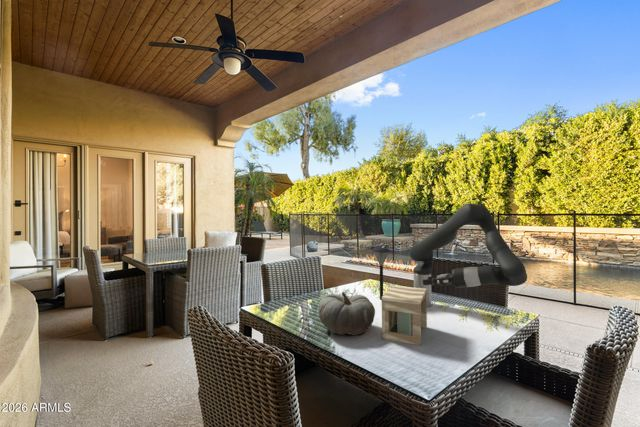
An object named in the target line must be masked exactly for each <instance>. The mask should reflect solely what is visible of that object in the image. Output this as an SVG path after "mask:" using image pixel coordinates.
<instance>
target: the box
mask: <svg viewBox="0 0 640 427" xmlns="http://www.w3.org/2000/svg"><path fill="white" fill-rule="evenodd" d="M427 308H428V307H427V289H423V288H414V286H413V287H410V286H399V285H392V286H391V287H390V288H389V289H388V290H387V291H386V292H385V293H383V296H382V300H381V339H382V340H385V341H386V340H388V341H391V342H392V341H394V342H397V343H398V342H399V343H404V344H405V343H406V344H412V345H417V346H421V345H422V328H426V329H427V328H428V315H427V313H428V310H427ZM397 312H403V313H411V327H412V334H410V335H409V334H402V333H397V331H396V332H394V331H391V330H392V329H393V328H394V326H395V324H396V325H397Z"/></svg>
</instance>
